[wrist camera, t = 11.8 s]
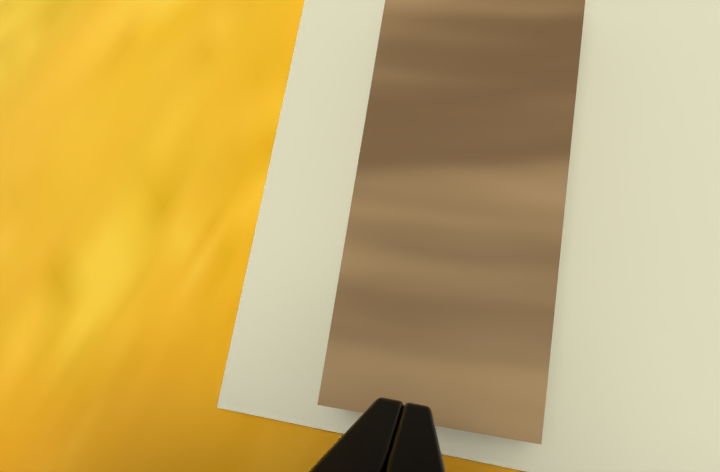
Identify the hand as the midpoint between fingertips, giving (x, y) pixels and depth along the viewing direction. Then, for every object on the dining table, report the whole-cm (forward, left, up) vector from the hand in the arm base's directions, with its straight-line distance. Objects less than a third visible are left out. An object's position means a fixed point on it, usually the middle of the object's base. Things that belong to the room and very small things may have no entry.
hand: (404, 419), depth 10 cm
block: (+12, +1, -6) cm, 13 cm away
